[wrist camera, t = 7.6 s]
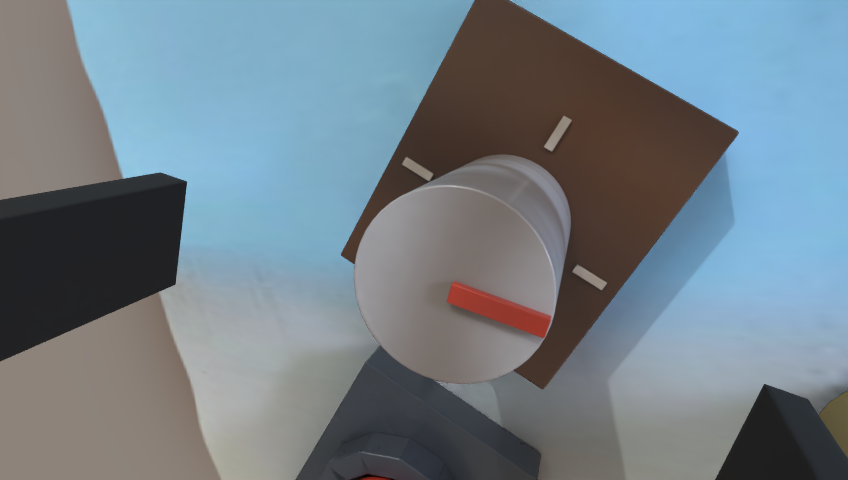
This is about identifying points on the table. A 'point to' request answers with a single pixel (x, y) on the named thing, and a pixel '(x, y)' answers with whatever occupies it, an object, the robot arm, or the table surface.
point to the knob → (466, 269)
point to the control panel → (559, 151)
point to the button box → (413, 433)
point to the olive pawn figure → (837, 420)
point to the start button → (374, 478)
